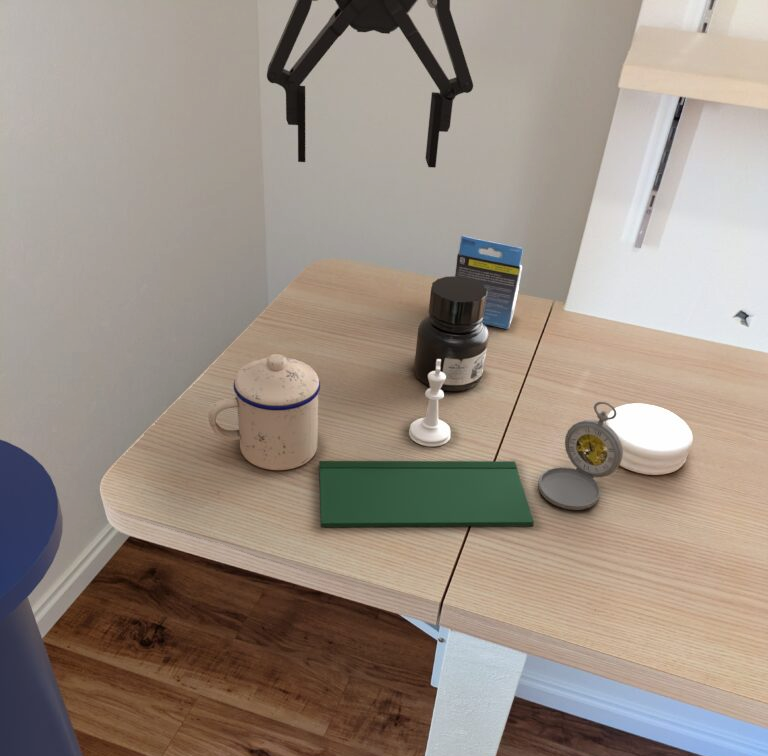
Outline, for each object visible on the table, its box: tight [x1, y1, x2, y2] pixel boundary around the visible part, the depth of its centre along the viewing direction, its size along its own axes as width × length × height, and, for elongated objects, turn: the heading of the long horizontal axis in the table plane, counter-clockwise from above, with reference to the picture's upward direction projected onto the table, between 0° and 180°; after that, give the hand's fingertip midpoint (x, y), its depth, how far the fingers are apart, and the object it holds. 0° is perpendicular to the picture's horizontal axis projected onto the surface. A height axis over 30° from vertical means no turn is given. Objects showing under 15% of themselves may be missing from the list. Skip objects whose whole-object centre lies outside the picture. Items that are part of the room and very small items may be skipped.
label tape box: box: [454, 234, 524, 330], centre depth 111 cm, size 9×4×12 cm, turn 72°
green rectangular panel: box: [318, 460, 535, 528], centre depth 85 cm, size 22×10×1 cm, turn 94°
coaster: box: [603, 403, 694, 476], centre depth 93 cm, size 10×10×4 cm
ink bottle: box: [413, 275, 490, 392], centre depth 100 cm, size 10×9×12 cm
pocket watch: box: [538, 401, 623, 511], centre depth 85 cm, size 8×8×10 cm
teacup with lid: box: [208, 353, 321, 471], centre depth 86 cm, size 12×9×12 cm
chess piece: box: [408, 359, 451, 448], centre depth 90 cm, size 5×5×10 cm
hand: (366, 160), depth 84 cm, fingers open, 13 cm apart
